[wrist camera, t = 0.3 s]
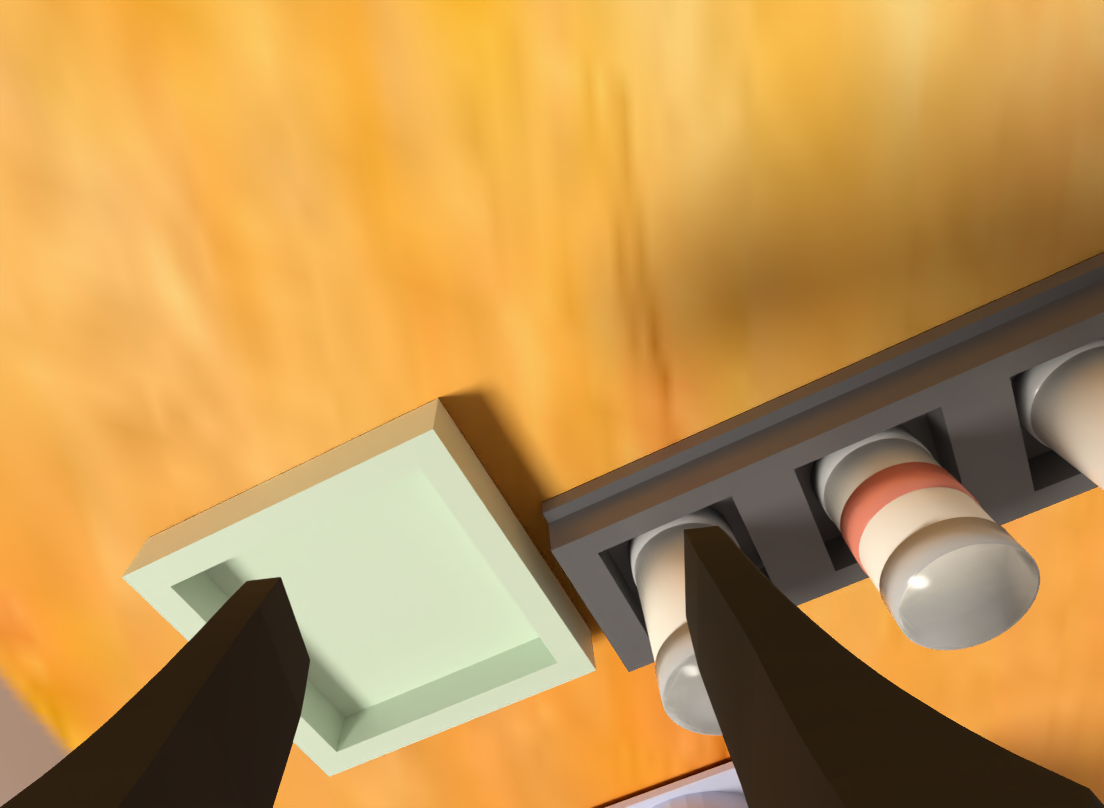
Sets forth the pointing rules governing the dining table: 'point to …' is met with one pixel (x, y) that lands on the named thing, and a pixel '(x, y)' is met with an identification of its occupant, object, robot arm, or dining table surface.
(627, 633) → the fuse block
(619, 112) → the dining table surface
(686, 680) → the fuse
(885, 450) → the fuse marked
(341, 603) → the tray
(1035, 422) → the fuse
